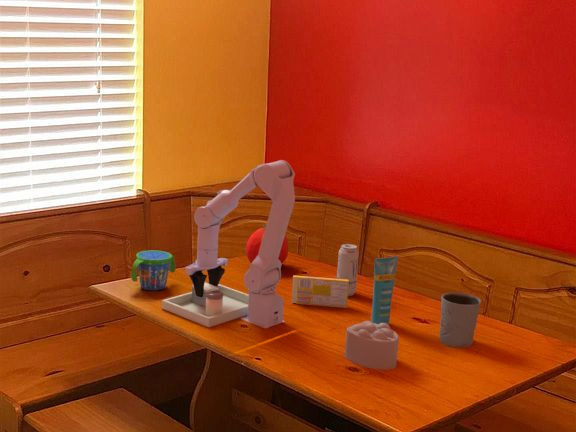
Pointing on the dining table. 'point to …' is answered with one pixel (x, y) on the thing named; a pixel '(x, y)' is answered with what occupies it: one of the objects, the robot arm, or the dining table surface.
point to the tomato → (255, 244)
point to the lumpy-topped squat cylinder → (372, 345)
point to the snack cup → (153, 269)
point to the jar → (213, 303)
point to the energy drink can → (348, 266)
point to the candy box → (320, 291)
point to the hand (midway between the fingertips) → (205, 294)
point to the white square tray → (184, 307)
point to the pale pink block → (202, 300)
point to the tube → (383, 289)
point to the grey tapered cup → (458, 319)
